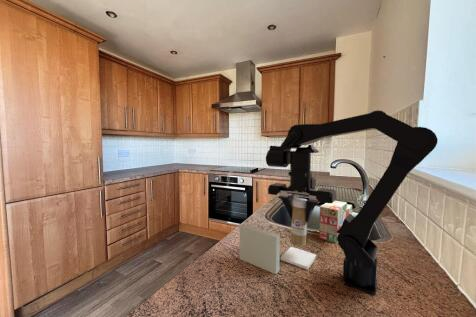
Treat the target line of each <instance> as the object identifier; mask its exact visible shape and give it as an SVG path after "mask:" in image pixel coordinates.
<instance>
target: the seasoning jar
mask: <svg viewBox="0 0 476 317" xmlns="http://www.w3.org/2000/svg"><path fill="white" fill-rule="evenodd" d="M307 200H308V199H306V198H302V197H294V199H293V201H292V205H293V211H292V219H291V225H290V226H291V227H290V228H291V229H290V232H291V233H290V244H291V245H293V246H294V247H300V248H302V247H303V248H304V247H305V246H306V245H307V243H306V242H307V229H308V223H306V201H307Z"/></svg>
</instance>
